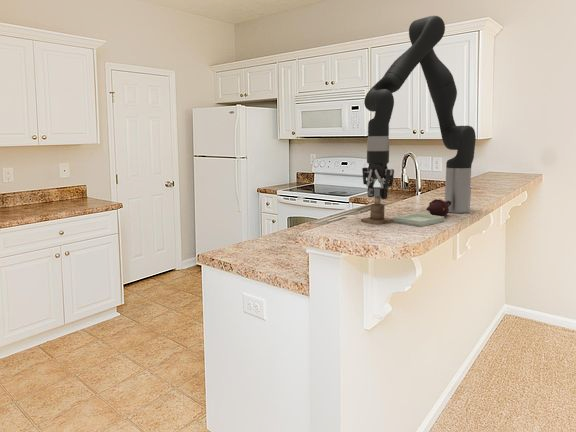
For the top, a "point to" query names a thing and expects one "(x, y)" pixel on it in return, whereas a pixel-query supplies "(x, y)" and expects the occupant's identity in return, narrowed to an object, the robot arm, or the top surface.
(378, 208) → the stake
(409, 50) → the robot arm
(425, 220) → the tray
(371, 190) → the ring
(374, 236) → the top surface
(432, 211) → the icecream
